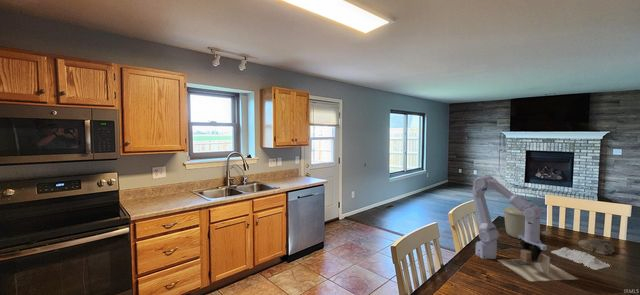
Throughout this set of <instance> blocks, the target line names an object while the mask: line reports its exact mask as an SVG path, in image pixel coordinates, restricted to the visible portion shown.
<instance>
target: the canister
mask: <svg viewBox="0 0 640 295" xmlns="http://www.w3.org/2000/svg"><path fill="white" fill-rule="evenodd" d="M502 211H503V215H504V216H503V217H504V224H505V231H506V233H507V235H508V236H509V237H513V238H515V239H519V238H518V235H521V234H522V235H524V236H525V216H524V215H523V212H521V211H520V210H519V209H517V208H516V207H515V206H507V207H504V208H502Z"/></svg>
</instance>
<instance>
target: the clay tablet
mask: <svg viewBox="0 0 640 295" xmlns="http://www.w3.org/2000/svg"><path fill="white" fill-rule="evenodd" d="M577 244H578V247H580V248H581V249H583V250H584V251H588V252H591V251H592V253H596V254H599V255H602V256H608V255H609V254H610V255H612V254H613V253H615V252H616V251H615V250H616V249H615V245H614V244H612V242H611V241H610V240H607V239H603V238H597V237H588V238H587V239H580V240H579V241H578V243H577ZM593 251H594V252H593Z"/></svg>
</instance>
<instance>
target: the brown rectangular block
mask: <svg viewBox="0 0 640 295" xmlns="http://www.w3.org/2000/svg"><path fill="white" fill-rule="evenodd" d="M542 253H543V251H542V252H541V253H540V255H539V257H538V260H537V261H532V255H531V250H530V249H529V250H523V249H520V257H519V259H520V260H522V261H523V262H525V263H542ZM543 254H544V253H543Z"/></svg>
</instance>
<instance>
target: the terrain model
mask: <svg viewBox="0 0 640 295" xmlns="http://www.w3.org/2000/svg"><path fill="white" fill-rule="evenodd" d="M550 253H551V254H554V255H557V256H558V257H560V258H564V259H567V260H570V261H572V260H573V261H572V262H574V263H577V264H582V263H583V266H585V267H586V266H587V268H589V267H590V269H592V270H594V271H595V270H596V271H597V270H601V269H605V268H611V267H610V265H611V264H610V265H609V263H607V262H604V261H603V260H600V259H598V258H596V256H593V255H591V254H590V253H587V252H584V251H580V250H576V249H570V248H568V247H561V248H560V249H556V250H551V251H550ZM606 263H607V264H606Z"/></svg>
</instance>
